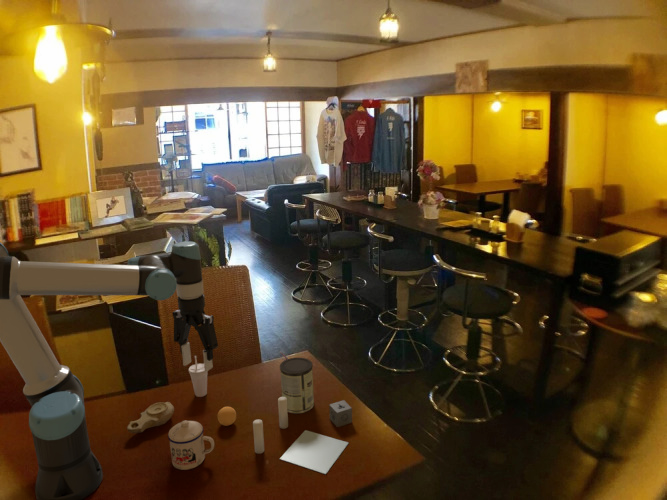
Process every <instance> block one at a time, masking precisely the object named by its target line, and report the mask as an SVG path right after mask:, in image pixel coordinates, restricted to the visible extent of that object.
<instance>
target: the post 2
mask: <svg viewBox="0 0 667 500" xmlns="http://www.w3.org/2000/svg"><path fill="white" fill-rule="evenodd" d="M277 406H278V407H277V409H278V424H279V425H278V426H279V428H280V429H288V427H289V417H288V416H289V415H288V413H289V412H288V411H287V398H286V397H282V396H280V397H279V398H278V399H277Z"/></svg>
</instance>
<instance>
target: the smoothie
mask: <svg viewBox="0 0 667 500" xmlns="http://www.w3.org/2000/svg"><path fill="white" fill-rule="evenodd" d="M197 358H198V357H197V355H194V363H195V364H192V365H190V366H189V368H188V373H189V375H190V378H191V383H192V387H193V391H194V394H195V397H198V398H202V397H205V396H206V395H207V393H208V391H207V390H208V371H209V370H208V371H205V368H204V363H198V361H197Z"/></svg>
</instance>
